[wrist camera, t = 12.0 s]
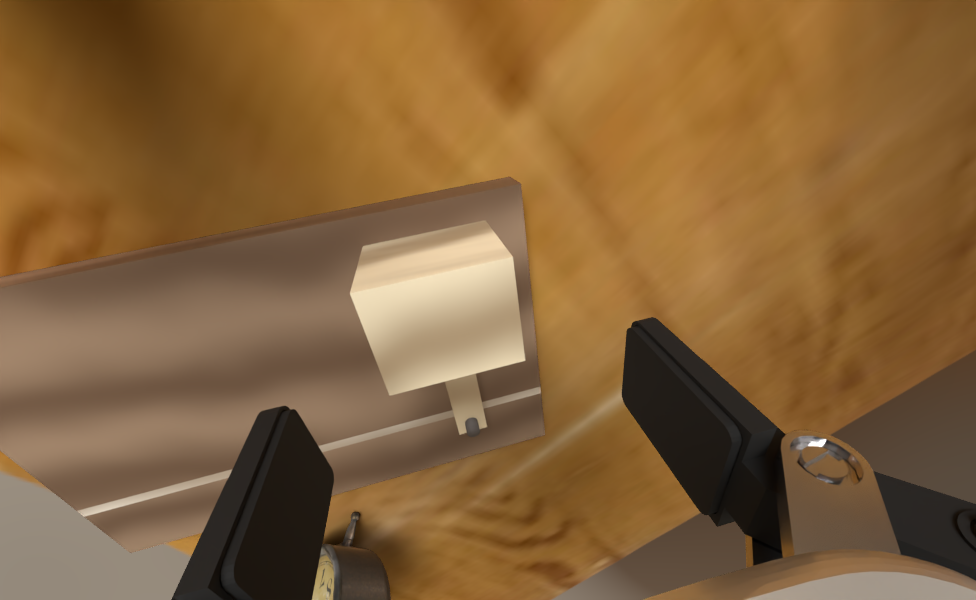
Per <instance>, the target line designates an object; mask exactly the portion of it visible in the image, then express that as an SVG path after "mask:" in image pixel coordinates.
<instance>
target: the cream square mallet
mask: <svg viewBox="0 0 976 600" xmlns="http://www.w3.org/2000/svg"><path fill="white" fill-rule="evenodd" d="M350 295H351V298H352V300H353V303H354V306H355V308H356V311H357V313H358V316H359V318H360V321H361V324H362V326H363V329H364V331H365V334H366V336H367V339H368V341H369V344H370V347H371V349H372V352H373V354H374V357H375V359H376V362H377V365H378V367H379V370H380V372H381V375H382V377H383V380H384V383H385V385H386V388H387V390H388V393H389V395H390V396H391V395H395V394H399V393H403V392H406V391H410V390H414V389H418V388H422V387H426V386H430V385H433V384H437V383H441V382H445V384H446V388H447V391H448V395H449V398H450V402H451V406H452V409H453V413H454V417H455V420H456V424H457V427H458V431H459V435H461V434H464V433H467V435H468V436H469V437H475V436H477V435H479V433H480V429H482V428H486V427H487V424H486V419H485V414H484V410H483V405H482V400H481V396H480V391H479V387H478V382H477V377H476V373H480V372H484V371H487V370H491V369H495V368H499V367H503V366H507V365H511V364H514V363H518V362H522V361H525V353H524V345H523V337H522V328H521V320H520V312H519V303H518V295H517V287H516V278H515V270H514V262H513V256H512V255H511V254H510V252H509V251H508V250H507V248H506V247H505V246H504V244H503V243H502V242H501V240H500V239H499V238H498V236H497V235H496V234H495V232H494V231H493V230H492V228H491V227H490V226H489V224H488V223H487V222H486V220H485V221H480V222H475V223H470V224H465V225H461V226H456V227H451V228H446V229H442V230H437V231H432V232H427V233H423V234H418V235H413V236H408V237H404V238H399V239H394V240H389V241H385V242H380V243H375V244H370V245H366V246H363V247H362V251H361V255H360V258H359V262H358V266H357V269H356V273H355V276H354V280H353V284H352V287H351V291H350Z"/></svg>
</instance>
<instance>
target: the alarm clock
mask: <svg viewBox="0 0 976 600" xmlns="http://www.w3.org/2000/svg"><path fill="white" fill-rule="evenodd" d="M359 517H360V515H359V513H358V512H354V513H352V515H351V523H350V525H349V526H348V528H347V531H346V533H345V537H344V540H343V542H342V543H340V544H337V545H330V544H322V548H321V554H320V559H319V564H318V570H317V575H316V580H315V586H314V591H313V596H312V600H391V597H390V587H389V582H388V577H387V573H386V570H385V568H384V566H383V563H382V562H381V560H380V559H379V557H378V556H377V555H376V554H375V553H374V552H373V551H371V550H369V549H363V548H355V547H353V546H352V542H353V539H354V535H355V528H356V521H357V520H358V519H359Z"/></svg>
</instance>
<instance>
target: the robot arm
mask: <svg viewBox="0 0 976 600" xmlns="http://www.w3.org/2000/svg"><path fill="white" fill-rule="evenodd" d="M622 398H623V401H624V403H625V405H626V407H627V408H628V410H629V411H630V413H631V414H632V415H633V417H634V418H635V420H636V421H637V423H638V424H639V425H640V427H641V428H642V430H643V431H644V433H645V434H646V435H647V437H648V438H649V440H650V441H651V443H652V444H653V445H654V447H655V448H656V450H657V451H658V453H659V454H660V455H661V457H662V458H663V460H664V461H665V463H666V464H667V465H668V467H669V468H670V470H671V471H672V473H673V474H674V475H675V477H676V478H677V480H678V481H679V483H680V484H681V485H682V487H683V488H684V490H685V491H686V493H687V494H688V495H689V497H690V498H691V500H692V501H693V503H694V504H695V505H696V507H697V508H698V509H699V511H700V512H701V513H702V514H704V515H709V516H710V517H711V519H712V520H713V522H714V523H715V524H716V526H721V525H724V524H727V523H731V522H734V521H735V522H736V523H737V524H738V526H739V527H740V528H741V529H742V531H743V532H744V534H745V535H746V566H747V568H745V569H741V570H738V571H734V572H731V573H728V574H724V575H720V576H717V577H713V578H710V579H706V580H703V581H701V582H697V583H694V584H690V585H688V586H684V587H681V588H678V589H675V590H672V591H669V592H665V593H662V594H659V595H655V596H652V597H649V598H646V599H643V600H976V504H973V503H970V502H967V501H964V500H961V499H958V498H955V497H952V496H949V495H945V494H942V493H939V492H936V491H933V490H930V489H927V488H924V487H920V486H917V485H914V484H911V483H908V482H905V481H902V480H899V479H896V478H893V477H889V476H886V475H883V474H880V473H877V472H874V471H873V470H872V469H871V467H870V465H869V463H868V462H867V461H866V460H865V459H864V458H863V457H862V456H861V454H860V453H859V452H857V451H856V450H855V449H853V448H852V447H850V446H849V445H848V444H846V443H844V442H842V441H840V440H838V439H837V438H835V437H833V436H830V435H827V434H824V433H821V432H817V431H810V430H795V431H792V432H790V433H787V434H784V433H783V432H782V431H781V430H780V429H779V428H778V427H777V426H776V425H774V424H773V423H772V422H771V421H770V420H769V419H768V418H767V417H766V416H764V415H763V414H762V413H761V412H760V411H759V410H758V409H757V408H756V407H755V406H753V405H752V404H751V403H750V402H749V401H748V400H747V399H746V398H745V397H743V396H742V395H741V394H740V393H739V392H738V391H737V390H736V389H735V388H733V387H732V386H731V385H730V384H729V383H728V382H727V381H726V380H725V379H723V378H722V377H721V376H720V375H719V374H718V373H717V372H716V371H715V370H713V369H712V368H711V367H710V366H709V365H708V364H707V363H706V362H705V361H703V360H702V359H701V358H700V357H699V356H697V355H696V354H695V353H694V352H693V351H692V350H691V349H690V348H689V347H687V346H686V345H685V344H684V343H683V342H682V341H681V340H680V339H679V338H678V337H676V336H675V335H674V334H673V333H672V332H671V331H670V330H669V329H668V328H666V327H665V326H664V325H663V324H662V323H661V322H660V321H659V320H658V319H656V318H653V317H651V318H647V319H643V320H639V321H635V322H633V323H632V326H631V328H628V330H627V334H626V347H625V360H624V372H623V385H622ZM333 484H334V473H333V470H332V468H331V466H330V464H329V463H328V461H327V459H326V458H325V456H324V455H323V453H322V451H321V450H320V448H319V446H318V445H317V443H316V441H315V440H314V438H313V437H312V435H311V433H310V432H309V430H308V428H307V427H306V425H305V423H304V422H303V420H302V419H301V417H300V415H299V414H298V412H297V411H296V410H295V409H291V410H290V409H289V407H287V406H280V407H276V408H272V409H268V410H263V411H261V412H260V413H259V414H258V416H257V418H256V420H255V422H254V424H253V426H252V428H251V430H250V433H249V435H248V437H247V439H246V441H245V443H244V446H243V448H242V450H241V452H240V454H239V456H238V459H237V461H236V463H235V465H234V467H233V469H232V471H231V474H230V476H229V478H228V480H227V481H226V483H225V485H224V487H223V490H222V492H221V494H220V496H219V498H218V500H217V503H216V505H215V507H214V509H213V511H212V513H211V515H210V518H209V520H208V522H207V524H206V526H205V528H204V531H203V533H202V535H201V537H200V539H199V541H198V543H197V546H196V548H195V550H194V552H193V554H192V556H191V559H190V561H189V563H188V565H187V567H186V569H185V571H184V574H183V576H182V578H181V580H180V583H179V584H178V587H177V589H176V591H175V593H174V596H173V597H172V600H312V596H313V591H314V586H315V580H316V575H317V570H318V564H319V559H320V554H321V548H322V543H323V538H324V532H325V527H326V522H327V516H328V511H329V506H330V500H331V495H332V490H333Z"/></svg>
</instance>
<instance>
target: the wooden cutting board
mask: <svg viewBox="0 0 976 600" xmlns="http://www.w3.org/2000/svg"><path fill="white" fill-rule="evenodd" d="M485 220H486V222H487V223H488V224H489V226H490V227H491V228H492V230H493V231H494V232H495V234H496V235H497V236H498V238H499V239H500V240H501V242H502V243H503V244H504V246H505V247H506V248H507V250H508V251H509V252H510V254H511V255H512V256H513V262H514V270H515V278H516V287H517V295H518V303H519V312H520V320H521V328H522V337H523V345H524V353H525V361H522V362H518V363H514V364H511V365H507V366H503V367H499V368H495V369H491V370H487V371H484V372H480V373H476V377H477V382H478V387H479V391H480V396H481V400H482V405H483V410H484V414H485V419H486V424H487V427H486V428H482V429H480V433H479V435H477V436H475V437H469V436H468V435H467V433H464V434H461V435H459V431H458V427H457V424H456V420H455V417H454V413H453V409H452V406H451V402H450V398H449V395H448V391H447V388H446V384H445V382H441V383H437V384H433V385H430V386H426V387H422V388H418V389H414V390H410V391H406V392H403V393H399V394H395V395H391V396H390V395H389V393H388V390H387V388H386V385H385V383H384V380H383V377H382V375H381V372H380V370H379V367H378V365H377V362H376V359H375V357H374V354H373V352H372V349H371V347H370V344H369V341H368V339H367V336H366V334H365V331H364V329H363V326H362V324H361V321H360V318H359V316H358V313H357V311H356V308H355V306H354V303H353V300H352V298H351V295H350V291H351V287H352V284H353V280H354V276H355V273H356V269H357V266H358V262H359V258H360V255H361V251H362V247H363V246H366V245H370V244H375V243H380V242H385V241H389V240H394V239H399V238H404V237H408V236H413V235H418V234H423V233H427V232H432V231H437V230H442V229H446V228H451V227H456V226H461V225H465V224H470V223H475V222H480V221H485ZM280 406H287V407H289V409H290V410H291V409H295V410H296V411H297V412H298V414H299V415H300V417H301V419H302V420H303V422H304V423H305V425H306V427H307V428H308V430H309V432H310V433H311V435H312V437H313V438H314V440H315V441H316V443H317V445H318V446H319V448H320V450H321V451H322V453H323V455H324V456H325V458H326V459H327V461H328V463H329V464H330V466H331V468H332V470H333V473H334V484H333V490H332V495H336V494H340V493H343V492H347V491H350V490H354V489H357V488H361V487H364V486H368V485H371V484H375V483H378V482H382V481H385V480H389V479H392V478H396V477H399V476H403V475H406V474H410V473H413V472H417V471H420V470H424V469H427V468H431V467H434V466H438V465H441V464H445V463H448V462H452V461H455V460H459V459H462V458H466V457H469V456H473V455H476V454H480V453H483V452H487V451H491V450H494V449H498V448H501V447H505V446H508V445H512V444H515V443H519V442H522V441H526V440H529V439H533V438H536V437H540V436H543V435H545V429H544V419H543V408H542V398H541V387H540V377H539V367H538V356H537V346H536V336H535V325H534V315H533V305H532V294H531V284H530V273H529V263H528V253H527V242H526V232H525V222H524V211H523V201H522V191H521V184H520V183H519V182H517V181H516V180H514V179H513V178H511V177H506V178H501V179H496V180H491V181H486V182H481V183H476V184H471V185H466V186H461V187H456V188H450V189H445V190H440V191H435V192H430V193H425V194H420V195H415V196H410V197H405V198H400V199H395V200H390V201H384V202H379V203H374V204H369V205H364V206H359V207H354V208H349V209H344V210H339V211H334V212H329V213H324V214H318V215H313V216H308V217H303V218H298V219H293V220H288V221H283V222H278V223H273V224H268V225H263V226H257V227H252V228H247V229H242V230H237V231H232V232H227V233H222V234H217V235H212V236H207V237H202V238H197V239H191V240H186V241H181V242H176V243H171V244H166V245H161V246H156V247H151V248H146V249H141V250H136V251H131V252H125V253H120V254H115V255H110V256H105V257H100V258H95V259H90V260H85V261H80V262H75V263H70V264H65V265H59V266H54V267H49V268H44V269H39V270H34V271H29V272H24V273H19V274H14V275H9V276H4V277H0V451H1V452H3V453H4V454H5V455H6V456H8V457H9V458H10V459H12V460H13V461H14V462H15V463H17V464H18V465H19V466H20V467H22V468H23V469H24V470H26V471H27V472H28V473H29V474H31V475H32V476H33V477H34V478H36V479H37V480H38V481H39V482H41V483H42V484H43V485H45V486H46V487H47V488H48V489H50V490H51V491H52V492H53V493H55V494H56V495H57V496H59V497H60V498H61V499H62V500H64V501H65V502H66V503H68V504H69V505H70V506H71V507H73V508H74V509H75V510H76V511H78V512H79V513H80V514H81V515H83V516H84V517H85V518H87V519H88V520H89V521H90V522H92V523H93V524H94V525H96V526H97V527H98V528H99V529H101V530H102V531H103V532H104V533H106V534H107V535H108V536H109V537H111V538H112V539H113V540H115V541H116V542H117V543H118V544H120V545H121V546H122V547H124V548H125V549H126V550H127V551H129V552H130V553H132V552H136V551H139V550H143V549H146V548H150V547H153V546H157V545H160V544H164V543H167V542H171V541H174V540H178V539H182V538H185V537H189V536H192V535H196V534H199V533H203V531H204V528H205V526H206V524H207V522H208V520H209V518H210V515H211V513H212V511H213V509H214V507H215V505H216V503H217V500H218V498H219V496H220V494H221V492H222V490H223V487H224V485H225V483H226V481H227V480H228V478H229V476H230V474H231V471H232V469H233V467H234V465H235V463H236V461H237V459H238V456H239V454H240V452H241V450H242V448H243V446H244V443H245V441H246V439H247V437H248V435H249V433H250V430H251V428H252V426H253V424H254V422H255V420H256V418H257V416H258V414H259V413H260V412H261V411H263V410H268V409H272V408H276V407H280ZM332 495H331V496H332Z"/></svg>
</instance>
